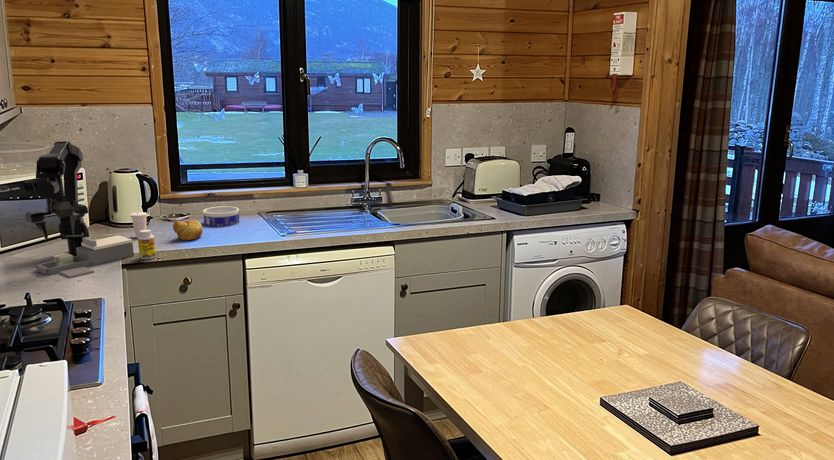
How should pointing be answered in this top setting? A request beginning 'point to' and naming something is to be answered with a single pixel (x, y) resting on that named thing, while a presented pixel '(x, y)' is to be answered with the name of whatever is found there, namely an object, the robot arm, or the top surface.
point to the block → (63, 259)
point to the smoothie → (139, 221)
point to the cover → (105, 242)
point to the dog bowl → (221, 216)
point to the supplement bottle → (146, 245)
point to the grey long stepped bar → (89, 258)
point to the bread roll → (188, 229)
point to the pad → (76, 272)
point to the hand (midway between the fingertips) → (60, 237)
